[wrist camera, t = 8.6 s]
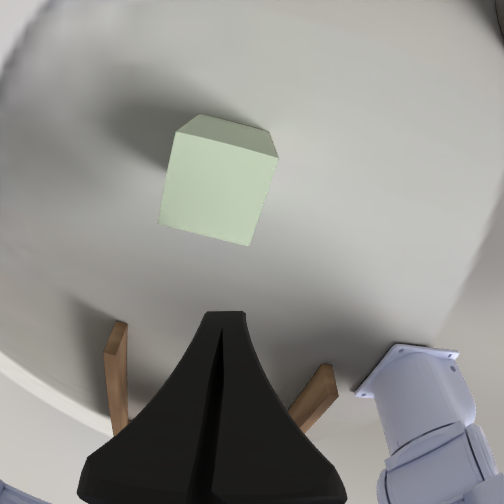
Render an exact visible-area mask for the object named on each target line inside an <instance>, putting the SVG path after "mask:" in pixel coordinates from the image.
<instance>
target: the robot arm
mask: <svg viewBox="0 0 504 504" xmlns="http://www.w3.org/2000/svg"><path fill="white" fill-rule="evenodd" d="M458 356H459V352H458V351H456V350H447V349H437V348H428V347H420V346H412V345H404V344H395V345H393V346H392V348H391V349H390V350H389V352H388V353H387V354H386V355H385V357H384V358H383V359H382V360H381V362H380V363H379V364H378V365H377V367H376V368H375V369H374V370H373V371H372V373H371V374H370V375H369V376H368V377H367V379H366V380H365V381H364V382H363V383H362V384H361V386H360V387H359V388H358V389H357V390H356V391H355V396H356V397H366V398H374V399H375V402H376V405H377V409H378V412H379V416H380V419H381V423H382V427H383V430H384V434H385V438H386V442H387V445H388V449H389V453H390V457H389V458H387V459H385V464H386V468H385V469H384V470H383V471H382V472H381V473H380V476H379V479H378V481H377V499H378V503H379V504H504V474H503V473H499V474H498V469H497V465H496V463H495V460H494V456H493V454H492V451H491V449H490V446H489V444H488V442H487V439H486V437H485V435H484V432H483V430H482V429H481V427H480V426H479V425H474V424H473V423H474V421H475V415H476V405H475V401H474V398H473V396H472V394H471V392H470V389H469V387H468V385H467V383H466V381H465V379H464V377H463V375H462V373H461V371H460V369H459V367H458V365H457V363H456V361H455V359H456V358H457V357H458ZM77 495H78V496H79V498H80V499H82V500H83V501H85V502H87V503H88V504H345V502H346V501H347V494H346V491H345V487H344V485H343V482H342V480H341V478H340V476H339V474H338V473H337V471H336V469H335V467H334V466H333V465H332V464H331V463H330V462H329V461H328V460H327V459H326V458H325V457H324V456H323V455H322V453H321V452H320V451H319V450H318V449H317V448H316V447H315V446H314V445H313V444H312V442H311V441H310V440H309V439H308V438H307V437H306V436H305V434H304V433H303V432H302V430H301V429H300V428H299V427H298V425H297V424H296V423H295V421H294V420H293V419H292V417H291V416H290V415H289V413H288V412H287V410H286V409H285V407H284V406H283V404H282V403H281V401H280V400H279V398H278V396H277V395H276V393H275V391H274V390H273V388H272V386H271V384H270V382H269V381H268V379H267V377H266V375H265V373H264V371H263V369H262V366H261V364H260V362H259V360H258V357H257V355H256V352H255V350H254V347H253V345H252V342H251V339H250V335H249V332H248V328H247V323H246V313H244V312H243V311H210V312H206V313H205V314H204V317H203V319H202V321H201V324H200V326H199V328H198V330H197V332H196V334H195V336H194V338H193V340H192V342H191V343H190V345H189V347H188V348H187V350H186V352H185V354H184V355H183V357H182V359H181V360H180V362H179V363H178V365H177V366H176V368H175V369H174V371H173V372H172V374H171V375H170V377H169V378H168V379H167V381H166V382H165V384H164V385H163V386H162V387H161V389H160V390H159V391H158V392H157V394H156V395H155V396H154V397H153V399H152V400H151V401H150V402H149V403H148V404H147V405H146V406H145V408H144V409H143V410H142V411H141V412H140V413H139V414H138V415H137V416H136V417H135V418H134V419H133V420H132V421H131V422H130V423H129V424H128V425H126V426H125V427H124V428H123V429H122V430H121V431H120V432H119V433H118V434H117V435H116V436H114V437H113V438H112V439H111V440H110V441H109V442H107V443H105V445H103V446H102V447H100V448H99V449H97V450H96V451H95V452H93V453H92V454H91V455H89V456H88V457H87V460H86V462H85V465H84V467H83V470H82V472H81V476H80V480H79V485H78V489H77ZM0 504H51V503H48V502H45V501H43V500H41V499H38V498H36V497H33V496H31V495H29V494H27V493H25V492H22V491H20V490H18V489H16V488H14V487H12V486H9V485H8V484H6V483H4V482H3V481H2V480H0Z"/></svg>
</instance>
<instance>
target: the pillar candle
mask: <svg viewBox="0 0 504 504" xmlns="http://www.w3.org/2000/svg"><path fill="white" fill-rule="evenodd" d="M496 11H497V16H498V21H499V24H500V28H501V31H502V34H503V37H504V0H496Z"/></svg>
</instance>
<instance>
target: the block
mask: <svg viewBox="0 0 504 504" xmlns="http://www.w3.org/2000/svg"><path fill="white" fill-rule="evenodd" d="M278 159H279V157H278V154H277V152H276V149H275V146H274V143H273V141H272V138H271V135H270V132H267V131H264V130H260V129H257V128H253V127H250V126H246V125H242V124H239V123H235V122H231V121H227V120H223V119H219V118H215V117H211V116H207V115H203V114H198V115H197V116H196V117H194V118H193V119H192V120H190V121H189V122H188V123H186V124H185V125H184V126H182V127H181V128H180V129H178V130H177V131H176V133H175V137H174V142H173V146H172V151H171V155H170V160H169V165H168V170H167V175H166V180H165V185H164V190H163V196H162V201H161V207H160V212H159V218H158V224H160V225H164V226H168V227H172V228H176V229H180V230H184V231H189V232H193V233H197V234H201V235H205V236H209V237H213V238H217V239H221V240H225V241H229V242H233V243H237V244H240V245H244V246H248V247H249V245H250V242H251V239H252V236H253V233H254V230H255V227H256V224H257V221H258V219H259V216H260V213H261V210H262V207H263V204H264V201H265V198H266V195H267V192H268V189H269V186H270V183H271V180H272V177H273V174H274V171H275V168H276V165H277V162H278Z"/></svg>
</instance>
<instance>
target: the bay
mask: <svg viewBox="0 0 504 504" xmlns="http://www.w3.org/2000/svg"><path fill="white" fill-rule="evenodd" d="M127 329H128V324H125V323H122V322H118V321H116V323H115V325H114V328H113V330H112V332H111V335H110V337H109V339H108V342H107V344H106V347H105V349H104V352H103V355H104V367H105V377H106V386H107V395H108V402H109V410H110V416H111V423H112V429H113V435H114V436H116V435H117V434H118V433H119V432H120V431H121V430H122V429H123V428H124V427H125V426H126V425H128V424H129V423H130V422H131V421H129V420H128V401H127ZM338 396H339V395H338V390H337V386H336V381H335V377H334V373H333V368H332V365H328V364H321V366H320V367H319V369H318V370H317V372H316V373H315V374H314V376H313V377H312V379H311V380H310V381H309V383H308V384H307V386H306V387H305V388H304V390H303V391H302V392H301V394H300V395H299V396H298V398H297V399H296V400H295V402H294V403H293V404H292V406H291V407H290V408H289V410H288V411H287V412H288V413H289V415H290V416H291V417H292V419H293V420H294V421H295V423H296V424H297V425H298V427H299V428H300V429H301V430H302V432H303V433H305V432H306V431H307V430H308V429H309V428H310V427H311V426H312V425H313V424H314V423H315V422H316V421H317V420H318V419H319V418H320V417H321V415H322V414H323V413H324V412H325V411H326V410H327V409H328V408H329V407H330V406H331V404H332V403H333V402H334V401H335V400H336V399H337V398H338Z"/></svg>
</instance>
